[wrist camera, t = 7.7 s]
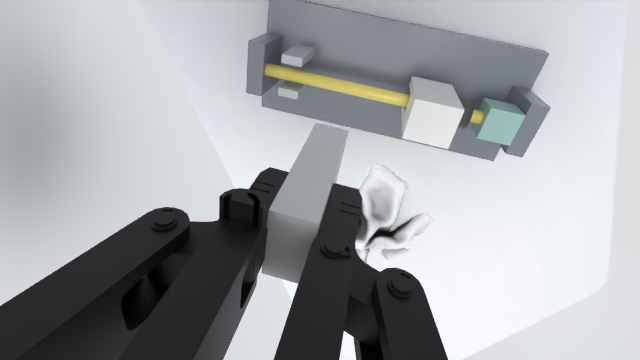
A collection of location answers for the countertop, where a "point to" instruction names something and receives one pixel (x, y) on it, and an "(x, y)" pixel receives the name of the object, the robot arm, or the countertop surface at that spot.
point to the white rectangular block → (431, 113)
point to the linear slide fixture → (393, 75)
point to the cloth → (385, 215)
